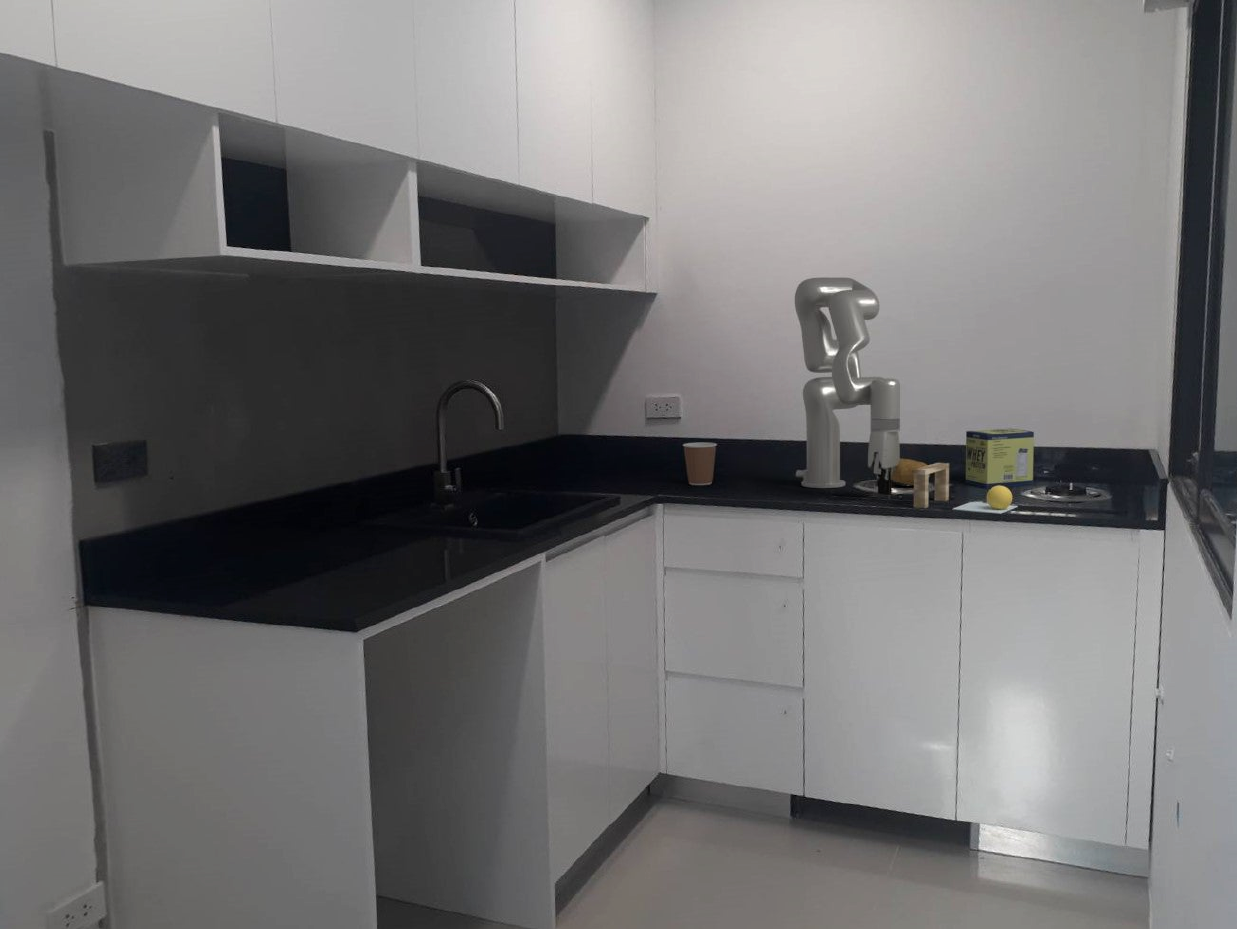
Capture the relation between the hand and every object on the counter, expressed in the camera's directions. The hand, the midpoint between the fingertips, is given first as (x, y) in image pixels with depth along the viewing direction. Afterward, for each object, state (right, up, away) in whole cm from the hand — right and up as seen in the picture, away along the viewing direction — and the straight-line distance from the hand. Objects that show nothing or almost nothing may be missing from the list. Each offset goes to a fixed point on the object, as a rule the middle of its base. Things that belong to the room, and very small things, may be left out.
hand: (884, 493), depth 278 cm
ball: (+23, 0, -20) cm, 31 cm away
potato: (+12, +1, +21) cm, 24 cm away
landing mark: (+21, -3, -17) cm, 27 cm away
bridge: (+10, -2, -8) cm, 13 cm away
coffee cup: (-46, +2, +38) cm, 60 cm away
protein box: (+38, +2, +20) cm, 43 cm away
